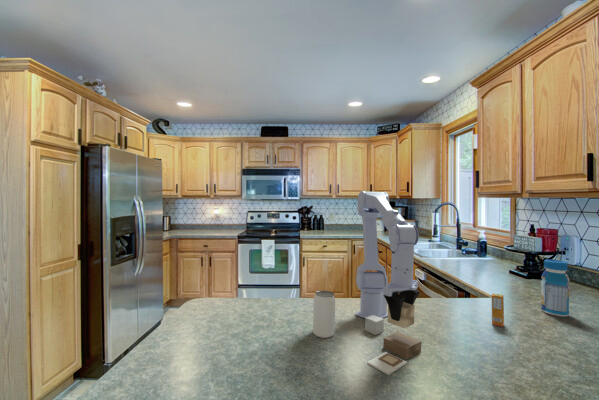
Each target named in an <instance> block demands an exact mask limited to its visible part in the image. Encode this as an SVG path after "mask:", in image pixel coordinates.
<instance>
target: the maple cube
mask: <svg viewBox="0 0 599 400" xmlns="http://www.w3.org/2000/svg"><path fill="white" fill-rule="evenodd" d="M415 309H416V308H415V304H414V305H411V304H408V303H405V302H403V305H402V308H401V316H400V320H399V321H396V320H393V319H391V315H390V310H389V307H388V306H387V314H388V316H387V323H389V324H392V325H395V326H397V327H400V328H403V329H407V328H408V327H410V326H412V325H415Z"/></svg>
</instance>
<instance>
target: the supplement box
mask: <svg viewBox="0 0 599 400" xmlns="http://www.w3.org/2000/svg"><path fill="white" fill-rule="evenodd" d="M504 303H505V302H504V295H503V294H499V293H492V294H491V325H493V326H497V327H502V328H503V327H504V326H505V309H504V308H505V307H504V306H505V304H504Z"/></svg>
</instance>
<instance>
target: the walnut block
mask: <svg viewBox="0 0 599 400" xmlns="http://www.w3.org/2000/svg"><path fill="white" fill-rule="evenodd" d="M383 349H385V350H387V351H390V352H391V353H393V354H396V355H397V356H399V357H400V358H401V357H402V358H404V359H406V360H407V359H409V358H411V357H413V356H415V355H417V354H419V353H420V352H421V351H422V340H419V339H416V338H414V337H412V336H410V335H407V334H405V333H403V332H400V331H397V332H394V333H392V334H390V335H387V336H385V337H383Z"/></svg>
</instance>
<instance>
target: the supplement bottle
mask: <svg viewBox="0 0 599 400" xmlns="http://www.w3.org/2000/svg"><path fill="white" fill-rule="evenodd" d="M568 266H569V265H568V262H567V261H564V260H558V259H557V260H556V259H544V260H543V267H544V269H545V270H544V271H543V272H542V274H541V281H540V287H541V296H540V297H541V302H540V303H541V304H540V310H541V311H542V312H543V313H545V314H547V315H551V316H556V317H569V316H570V290H571V285H570V283H571V280H570V278H569V277H570V276H569V275H568V274H567V273H566V272H568Z"/></svg>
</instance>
